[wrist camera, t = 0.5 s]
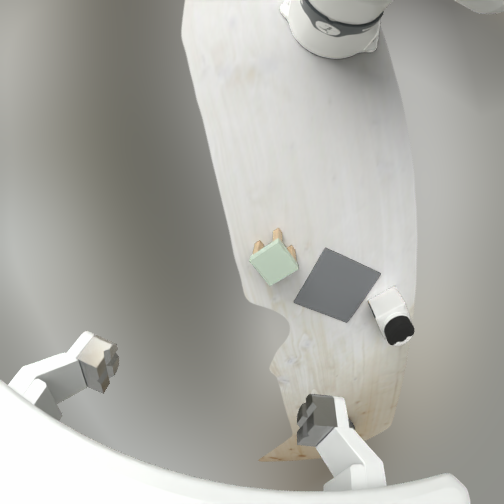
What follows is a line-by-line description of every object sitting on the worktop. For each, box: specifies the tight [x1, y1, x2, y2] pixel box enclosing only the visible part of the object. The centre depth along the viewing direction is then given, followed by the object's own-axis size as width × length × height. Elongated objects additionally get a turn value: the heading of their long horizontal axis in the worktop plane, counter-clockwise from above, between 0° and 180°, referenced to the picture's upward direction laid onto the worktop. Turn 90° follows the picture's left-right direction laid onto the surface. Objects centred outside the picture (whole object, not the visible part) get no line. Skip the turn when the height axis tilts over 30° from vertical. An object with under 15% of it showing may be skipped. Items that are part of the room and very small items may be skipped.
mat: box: [294, 248, 381, 322], centre depth 56 cm, size 14×14×1 cm
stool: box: [249, 228, 299, 286], centre depth 50 cm, size 6×6×8 cm
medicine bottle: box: [368, 286, 414, 346], centre depth 52 cm, size 7×7×12 cm
